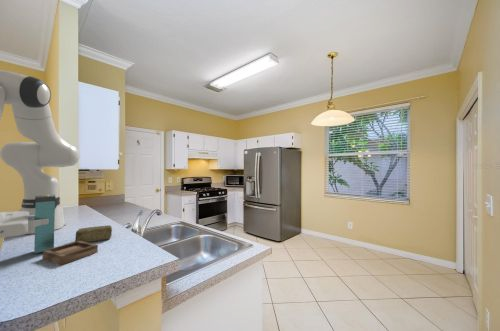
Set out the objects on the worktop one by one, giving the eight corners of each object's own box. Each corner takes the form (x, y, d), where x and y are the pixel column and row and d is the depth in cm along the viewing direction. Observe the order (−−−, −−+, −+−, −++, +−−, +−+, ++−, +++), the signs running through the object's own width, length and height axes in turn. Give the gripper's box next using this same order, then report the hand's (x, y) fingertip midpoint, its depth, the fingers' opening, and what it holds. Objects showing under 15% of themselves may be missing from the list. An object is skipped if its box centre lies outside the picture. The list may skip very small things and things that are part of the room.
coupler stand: (42, 259, 65) (42, 250, 65) (78, 247, 74) (78, 240, 74) (62, 265, 61) (62, 256, 61) (97, 252, 71) (97, 244, 71)
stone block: (111, 239, 83) (111, 227, 83) (74, 245, 77) (74, 231, 77) (111, 235, 88) (112, 223, 88) (76, 240, 82) (76, 227, 82)
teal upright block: (33, 249, 71) (35, 195, 71) (53, 245, 74) (54, 193, 74) (33, 253, 68) (35, 196, 68) (54, 249, 71) (55, 195, 71)
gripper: (-24, 223, 55) (50, 215, 64) (-11, 210, 69) (47, 205, 79) (-24, 247, 55) (49, 235, 64) (-12, 229, 69) (47, 222, 79)
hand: (48, 219), depth 72 cm, fingers closed on teal upright block, 5 cm apart
